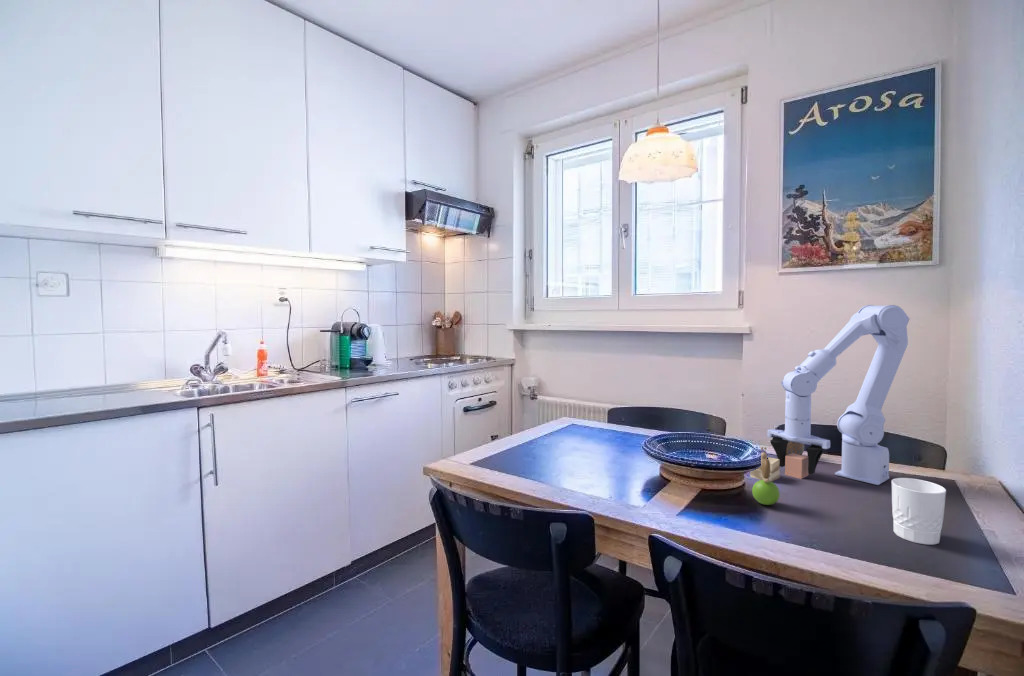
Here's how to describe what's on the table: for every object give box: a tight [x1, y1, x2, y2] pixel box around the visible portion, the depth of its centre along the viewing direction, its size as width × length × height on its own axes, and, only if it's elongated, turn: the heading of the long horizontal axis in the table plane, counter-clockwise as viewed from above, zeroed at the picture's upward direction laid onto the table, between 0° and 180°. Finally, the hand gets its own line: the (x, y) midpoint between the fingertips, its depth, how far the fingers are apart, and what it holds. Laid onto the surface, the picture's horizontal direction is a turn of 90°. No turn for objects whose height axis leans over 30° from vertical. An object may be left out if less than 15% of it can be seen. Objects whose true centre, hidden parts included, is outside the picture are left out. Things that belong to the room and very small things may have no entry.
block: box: [784, 453, 810, 480], centre depth 124 cm, size 4×4×5 cm
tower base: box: [749, 468, 781, 482], centre depth 123 cm, size 5×5×2 cm
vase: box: [783, 429, 805, 456], centre depth 139 cm, size 7×7×9 cm
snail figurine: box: [751, 446, 780, 506], centre depth 107 cm, size 5×6×12 cm
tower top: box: [756, 456, 780, 474], centre depth 123 cm, size 5×5×2 cm
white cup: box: [891, 477, 947, 546], centre depth 91 cm, size 8×8×10 cm
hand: (796, 469), depth 124 cm, fingers open, 6 cm apart
